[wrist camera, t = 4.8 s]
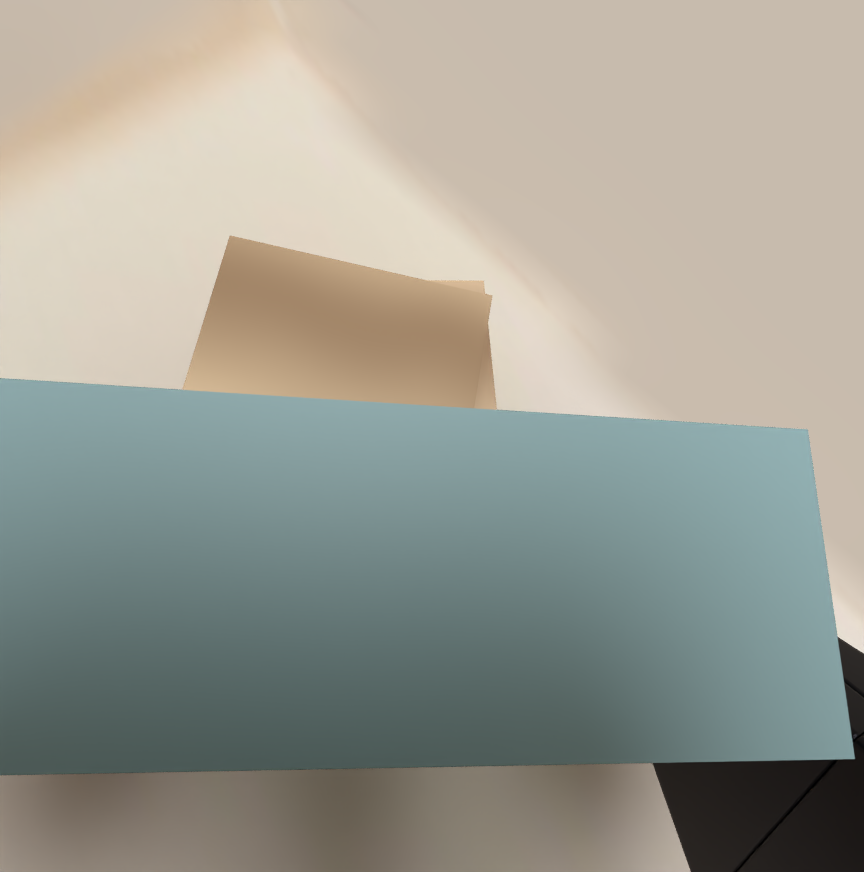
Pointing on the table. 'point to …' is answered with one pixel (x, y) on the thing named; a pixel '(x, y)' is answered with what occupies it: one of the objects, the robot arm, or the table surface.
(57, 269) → the table surface
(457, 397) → the offcut stack
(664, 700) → the teal rectangular block
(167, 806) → the table surface
